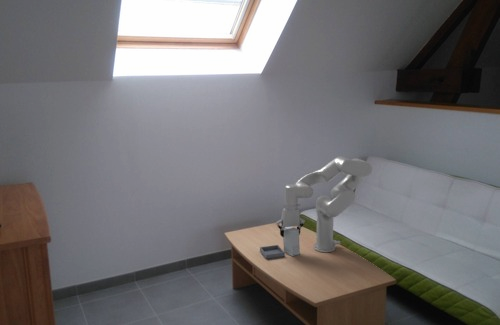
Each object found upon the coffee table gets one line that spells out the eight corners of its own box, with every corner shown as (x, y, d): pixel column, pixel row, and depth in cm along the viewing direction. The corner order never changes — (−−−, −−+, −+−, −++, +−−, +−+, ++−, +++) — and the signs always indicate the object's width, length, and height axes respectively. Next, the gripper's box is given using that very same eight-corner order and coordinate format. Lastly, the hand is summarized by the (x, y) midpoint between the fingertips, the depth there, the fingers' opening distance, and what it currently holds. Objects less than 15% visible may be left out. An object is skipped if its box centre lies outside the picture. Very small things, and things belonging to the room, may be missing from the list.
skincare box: (300, 254, 240) (300, 229, 237) (291, 256, 237) (291, 232, 234) (290, 249, 247) (290, 225, 244) (282, 251, 244) (282, 227, 241)
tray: (277, 249, 248) (277, 244, 247) (284, 256, 237) (284, 252, 237) (259, 251, 245) (259, 247, 244) (265, 259, 234) (265, 254, 234)
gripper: (302, 203, 242) (301, 231, 246) (274, 205, 237) (273, 234, 241) (308, 207, 235) (306, 236, 239) (278, 209, 230) (278, 239, 234)
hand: (290, 235), depth 240 cm, fingers open, 9 cm apart
